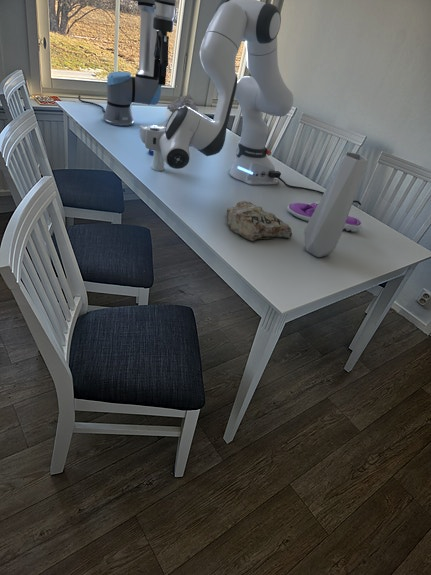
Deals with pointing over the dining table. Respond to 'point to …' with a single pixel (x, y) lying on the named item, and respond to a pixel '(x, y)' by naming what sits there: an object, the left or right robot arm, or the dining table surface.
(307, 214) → the sandal
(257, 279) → the dining table surface
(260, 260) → the dining table surface
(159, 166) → the bottle
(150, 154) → the cap
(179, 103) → the rock
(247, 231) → the stone
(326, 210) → the vase
